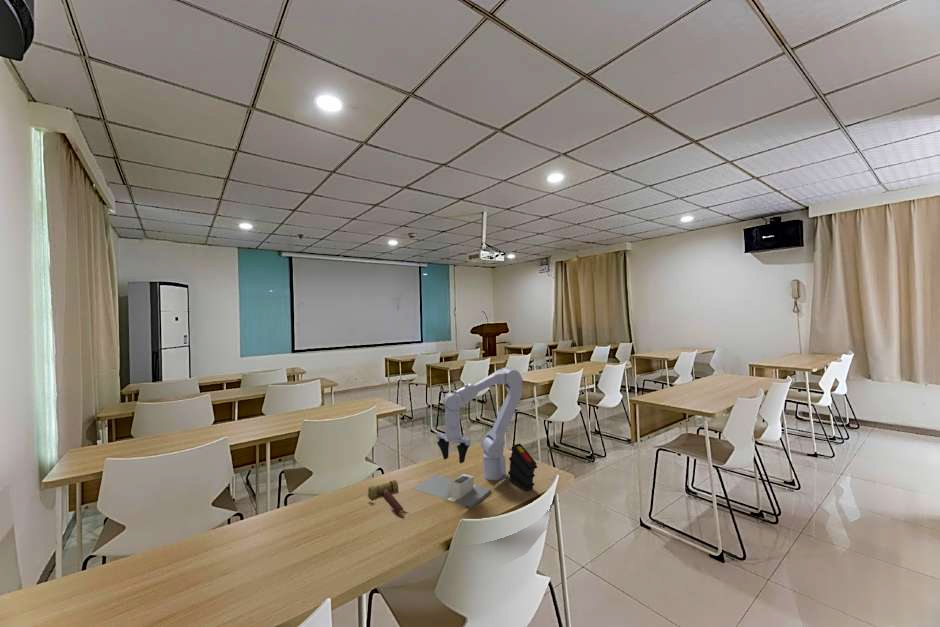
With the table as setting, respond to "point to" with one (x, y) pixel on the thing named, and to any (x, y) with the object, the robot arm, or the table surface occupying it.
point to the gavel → (387, 495)
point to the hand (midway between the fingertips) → (453, 460)
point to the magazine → (522, 468)
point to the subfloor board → (442, 489)
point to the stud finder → (461, 486)
